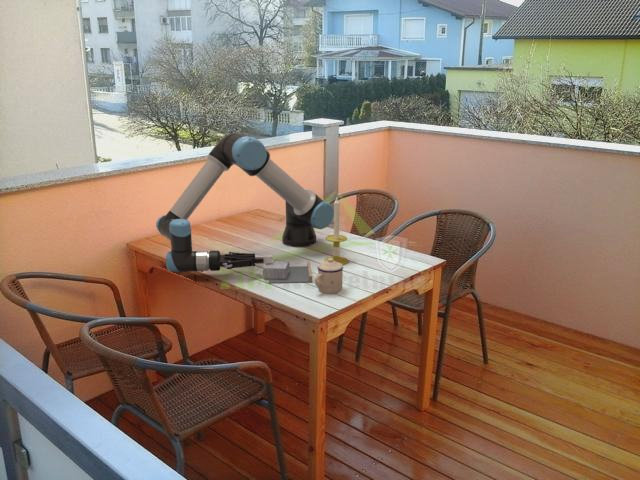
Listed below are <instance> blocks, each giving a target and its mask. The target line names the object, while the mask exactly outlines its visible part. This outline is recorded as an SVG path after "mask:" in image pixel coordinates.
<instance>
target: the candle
mask: <svg viewBox="0 0 640 480" xmlns="http://www.w3.org/2000/svg"><path fill="white" fill-rule="evenodd" d="M333 209H334V217H333V234H330V235H328V236H326V237H325V240H326V241H328V242H331V243H333V244H332V245H333V246H332V250H333V251H332V252H333V253H332V254H333V255H332V256H328V257H326V258H325V259H324V260H323V262H325V261H328V258H332V259H333V261H336V262H339V263H341V264H342V265H343V266H344V265H347V264H348V263H349V259H348V258H347V257H345V256H340V253H341V251H340V249H341V247H340V246H341V245H340V243H342V242H343V243H344V242H346V241H347V240H348V237H347V236H346V235H341V234H340V201H339V198H338V197H336V198H335V201H334V202H333Z"/></svg>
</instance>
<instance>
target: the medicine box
mask: <svg viewBox="0 0 640 480" xmlns="http://www.w3.org/2000/svg"><path fill="white" fill-rule="evenodd" d="M289 267H290V261H287V260H273V263H268V264H264V266H263V268H262V275H263V277H262V278H263V279H264V280H266V279H267V280H269V279H286V278H287V276H288V273H289Z"/></svg>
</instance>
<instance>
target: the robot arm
mask: <svg viewBox="0 0 640 480" xmlns="http://www.w3.org/2000/svg"><path fill="white" fill-rule="evenodd" d="M270 153H271V152H269V151H268V150H267V149H266V146H265V144H264V143H263V142H262V141H260V140H259V139H258V138H257V137H253V136H249V135H248V136H247V135H243V134H241V133H237V132H234V133H229V134H227V135H225V136H223V138H221V139H220V140H219V141H218V142H217V143H216V144H215V145H214V147H213V148H212V149H211V151H210V152H209V153H208V155H207V160H206V161H205V163H204V164H203V166H202V167H201V168H200V169H199V171H198V172H197V173H196V175H195V176H194V178H193V179H192V180H191V182H190V183H189V184H188V185H187V187H186V188H185V189H184V190H183V192H182V194H181V195H180V196H179V197H178V198H177V200H176V201H175V203H174V204H173V205H172V207H171V208H170V209H169V211H168V212H167V213H166V214H164V215H161V216H159V217H158V218H157V220H156V223H155V226H156V230H157V232H159V233H160V235H162V236H163V237H165V238H167V240H169V241H170V246H171V247H170V248H171V251H167V253H166V254H165V265H166V269H167V270H168V271H169V272H179V273H181V272H182V273H183V272H184V273H185V272H201V273H203V272H205V271H206V272H208V271H211V272H216V271H217V272H219V271H220V270H221V267H222V268H223V267H226V270H231V269H238V268H248V267H256V264H257V265H260V264H261V265H262V264H263V265H265V264H268V263H273V261H274V259H273V256H274V255H271V254H269V255H256V253H248V252H233V251H229V252H228V253H224V254H221V252H220V251H219V250H210V251H209V250H193V242H192V241H193V240H192V227H191V223H190V221H189V218H190V217H191V216H192V215H193V213H194V212H195V210H196V209H197V207H198V206H199V205H200V204H201V202H202V201H203V200H204V199H205V197H206V196H207V194H208V193H209V192H210V190H211V189H212V188H213V187H214V185H215V184H216V183H217V181H218V180H219V179H220V178H221V175H223V173H224V172H228V171H229V170H230V168H231V167H232V166H234V165H235V166H237V167H238V168H239V169H241V170H242V171H243V172H244V173H246V174H247V176H249V177H257V178H258V179H259V180H260V181H261V182H262V183H264V184H265V185H266V186H267V187H269V188H270V189H271V190H272V191H273V192H274V193H275V194H277V195H278V196H279V197H280V198H282V200H284V202H285V228H284V231H283V234H282V243H283V244H284V245H286V246H287V247H296V248H297V247H298V248H302V247H309V246H312V245H315V244H316V243H317V234H316V232H315V229H316V230H317V229H318V230H323V229H326V228H328V226H330V224H331V223H332V221H334V205H332V204H331V203H330V202H328V201H326V200H324V199H322V198H321V197H320V196H319V195H317V194H316V193H315V192H314V191H312V190H311V189H305V188H304V187H303V186H301V185H300V184H299V183H298V181H296V180H295V179H294V178H293V177H291V176H290V175H289V174H288V173H287V172H286V171H285V170H284V169H282V167H280V166H279V164H277V163H276V162H274V161H273V159H271V154H270Z"/></svg>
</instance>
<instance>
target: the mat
mask: <svg viewBox="0 0 640 480" xmlns="http://www.w3.org/2000/svg"><path fill="white" fill-rule="evenodd" d="M311 266H312V265H311V261H309V260H307V265H301V266H300V265H299V266H295V265H294V266H289V273H288V276H287V278H286V279H268V284H269V285H270V284H273V285H274V284H300V283H301V284H303V283H304V284H305V283H310V284H311V283H313V274H312V273H313V272H312V267H311Z"/></svg>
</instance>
